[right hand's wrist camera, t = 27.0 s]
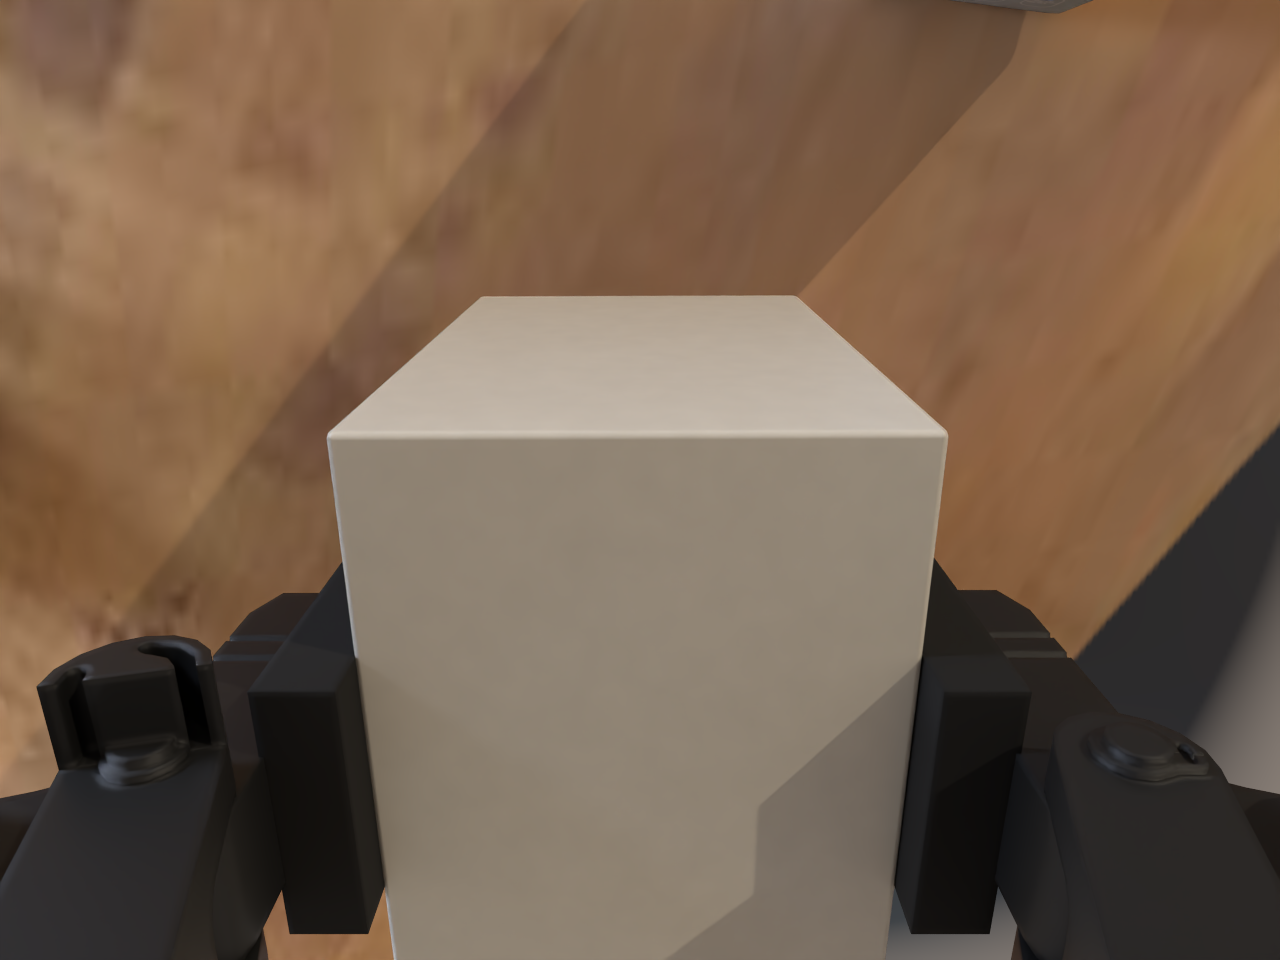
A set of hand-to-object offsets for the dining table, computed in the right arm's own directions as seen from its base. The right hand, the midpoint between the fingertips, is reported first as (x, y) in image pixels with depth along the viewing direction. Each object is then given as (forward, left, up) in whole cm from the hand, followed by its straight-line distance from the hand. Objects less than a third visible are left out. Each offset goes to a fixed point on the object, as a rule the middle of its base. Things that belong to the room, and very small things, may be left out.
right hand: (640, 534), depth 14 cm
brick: (0, 0, -2) cm, 2 cm away
